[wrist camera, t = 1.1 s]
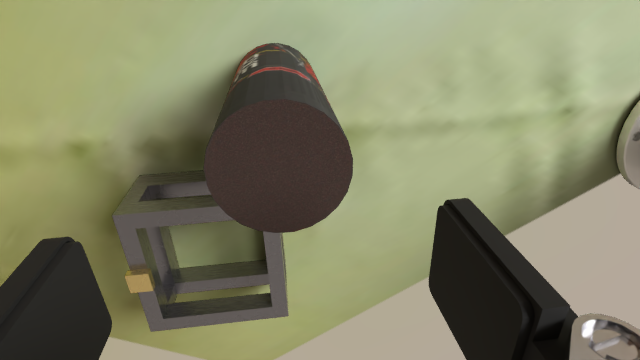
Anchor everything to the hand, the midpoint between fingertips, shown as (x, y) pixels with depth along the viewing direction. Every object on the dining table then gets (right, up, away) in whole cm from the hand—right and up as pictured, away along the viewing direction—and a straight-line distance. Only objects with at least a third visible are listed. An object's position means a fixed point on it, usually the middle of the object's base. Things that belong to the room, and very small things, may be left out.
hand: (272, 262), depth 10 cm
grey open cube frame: (-8, -2, +23) cm, 25 cm away
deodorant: (-2, +9, +19) cm, 21 cm away
